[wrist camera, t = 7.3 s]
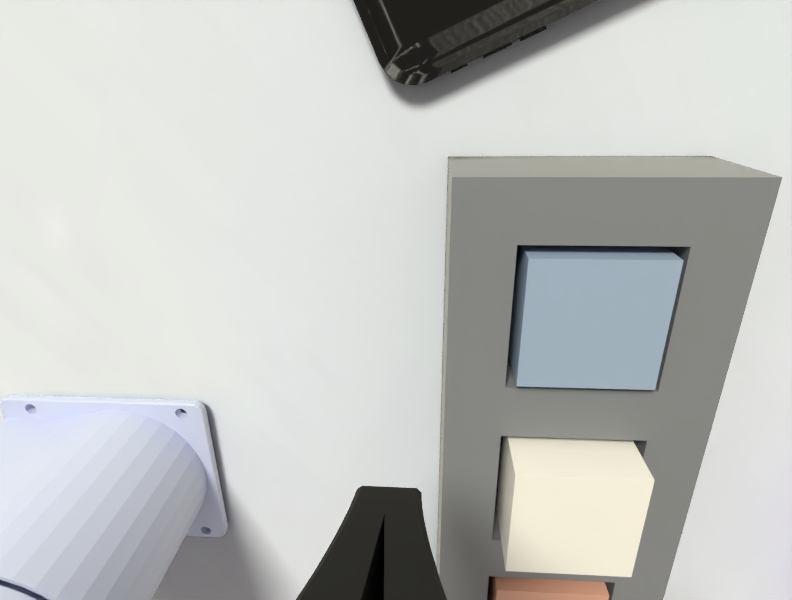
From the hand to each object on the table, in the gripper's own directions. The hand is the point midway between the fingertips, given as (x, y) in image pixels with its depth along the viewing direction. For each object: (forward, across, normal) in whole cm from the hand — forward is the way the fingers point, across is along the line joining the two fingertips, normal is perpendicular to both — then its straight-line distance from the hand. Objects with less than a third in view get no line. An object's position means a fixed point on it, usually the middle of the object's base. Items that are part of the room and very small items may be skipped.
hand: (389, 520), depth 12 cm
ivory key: (+8, -6, +5) cm, 11 cm away
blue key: (+9, -6, -2) cm, 11 cm away
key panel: (+10, -6, +5) cm, 13 cm away
